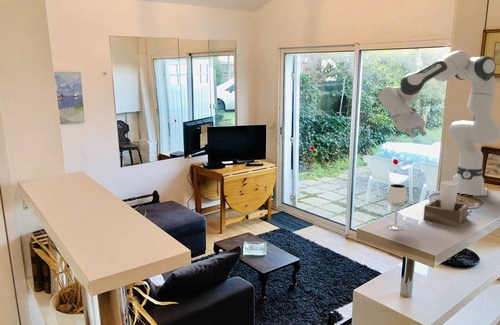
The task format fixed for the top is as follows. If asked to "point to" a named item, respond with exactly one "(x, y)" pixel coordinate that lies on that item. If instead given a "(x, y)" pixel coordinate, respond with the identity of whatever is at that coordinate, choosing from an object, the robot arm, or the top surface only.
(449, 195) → the white rectangular block
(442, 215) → the walnut crate
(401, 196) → the wineglass
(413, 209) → the top surface
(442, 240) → the top surface
